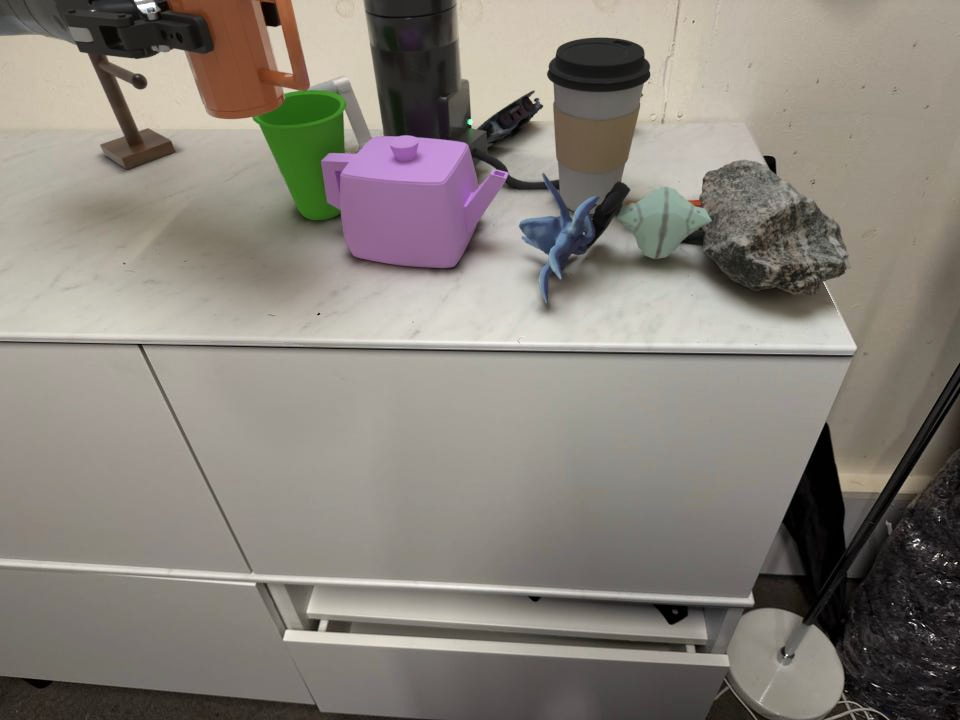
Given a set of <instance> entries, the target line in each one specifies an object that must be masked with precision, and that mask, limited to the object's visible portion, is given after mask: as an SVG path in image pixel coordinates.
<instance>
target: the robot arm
mask: <svg viewBox="0 0 960 720" xmlns="http://www.w3.org/2000/svg"><path fill="white" fill-rule="evenodd" d="M261 4H262V8H263V11H264V15H265V19H266V23H267V27H271V28H277V27H280V26H281V22H280V18H279V14H278V10H277V6H276V3H270V2H262V1H261ZM363 8H364V13H365V14H364V15H365V21H366V27H367V33H368V40H369V46H370V47H369V49H370V52H371V54H370V55H371V61H372V68H373V73H374V79H375V86H376V94H377V100H378V106H379V113H380V119H381V124H382V125H381V126H382V136H397V137H398V136H404V135H408V136H414V137H418V138H431V139H441V140H450V141H458V142H463V143H466V144H467V145H468V146H469V149H470V152H471V156H472V160H473V164H474V167H476V165H478V164H479V163H480V162H481V161H482V162H483V163H486V164H488V165H490V166H491V167H493V169H497V170H501V171H504V172H508V173H509V174H508V177H507V179H506V181H505V183H504V184H506V185H508V186H509V187H511V188H513V189H515V190H516V189H517V190H523V191H531V190H532V191H535V190H537V191H538V190H549V189H548V188H547V186H546V184H545V182H544V181H537V182H536V181H535V182H533V181H532V182H531V181H523V180H520V179H517V178H515V177H513V176H511V175H510V172H509V169H508V168H507V166H506V165H505V164H504V163H503V162H502V161H501V160H500V159H499V158H497V157H496V156H493V155H491V154H489V153H488V147H487V132H486V131H483V130H477V128H472V124H473V120H472V109H471V91H470V90H471V88H470V81H469V80H468V79H467V78H463V77H462V61H461V60H462V59H461V46H460V43H461V42H460V29H459V28H460V27H459V26H460V25H459V13H458V12H459V10H458V0H363ZM26 35H27V36H32V35H33V36H43V37H45V38H48V39H49V38H50V39H54V40H59V41H65V42H67V43H70V44H72V45H75V46H76V47H77V49H78V51H79V53H83V54H87V53H90V54H99V55H106V56H107V57H117V58H124V59H135V60H141V59H149V58H152V57H154V56H156V55H159V54H160V53H169V52H170V51H172V50H179V51H184V52H185V51H190V52H195V53H200V54H206V53H208V52H211V51H213V50H214V44H213V40H212V37H211V34H210V31H209V28H208V24H207V22H206V20H205V19H204V18H203V17H202V16H201V15H195V14H189V13H181V12H175V11H170V8H169V5H168V2H167V0H0V37H11V36H26ZM549 181H550V182H551V183H552V184H553V186H554V187H555V188H556V189H557V190H560V186H559V179H554V180H549ZM622 206H624V204H623V203H622V204H621V205H620V207H619V209H618V210H617V212H616V214H617V215H618V214H619V212H620V210H621V208H622ZM704 236H705V232H704V231H703V230H699V229H697V230H696V231H694V232H692V233H691V234H690V235H689V236H687V237H686V238H685V239H684V240H683V241H693V242H703V237H704Z"/></svg>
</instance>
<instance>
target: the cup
mask: <svg viewBox="0 0 960 720" xmlns="http://www.w3.org/2000/svg"><path fill="white" fill-rule="evenodd" d="M284 95H285V101H284V103H283V104H282V105H281V106H279V107H278V108H276V109H275V110H273V111H270V112H268V113H265V114H262V115H258V116H254V117H251V119H252V120H253V122H255V123H256V124H257V125H258V126H259V129H260V130H261V132H262V134H263V136H264V139H265V141H266V143H267V145H268V147H269V149H270V152H271V153H272V156H273V158H274V160H275V163H276V165H277V167H278V169H279V172H280V174H281V176H282V178H283V180H284V182H285V184H286V186H287V189H288V191H289V194H290V196H291V198H292V200H293V202H294V204H295V206H296V208H297V210H298V212H299V214H301V216H302V217H304V218H305V219H307V220H311V221H324V220H325V221H326V220H329V219H333V218H335V217H337V216H339V215H341V210H339V209H338V208H336V207H334V206H332V205H331V204H329V203H327V198H326V192H325V185H324V178H323V172H322V165H321V161H322V160H323V159H324V158H325V157H326V156H327V155H328V154H329V153H346V145H345V143H346V142H345V121H344V120H345V119H344V111H345V108H346V102H345V100H344V99H343V97H342V96H340V95H338V94H336V93H333V92H329V91H323V90H307V91H299V90H296V91H290V92H284Z"/></svg>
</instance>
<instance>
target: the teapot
mask: <svg viewBox="0 0 960 720" xmlns="http://www.w3.org/2000/svg"><path fill="white" fill-rule="evenodd" d="M356 153H357V154H356ZM356 153H349V152H348V153H346V152H345V153H329V154H328V155H327V156H326V157H325V158H324V159H323V160H322V161H321V165H322V172H323V178H324V185H325V192H326V198H327V203H329V204H331V205H332V206H334V207H336V208H338V209H339V210H341V214H340V218H341V225H342V231H343V238H344V241H345V243H346V246H347V247H348V250H349V252H350V253H351V255H352V256H353V257H355V258H358V259H360V260H361V259H362V260H366V261H372V262H377V263H383V264H388V265H394V266H395V265H396V266H404V267H415V268H429V269H430V268H431V269H449V268H454V267H456V266H457V264H458V263H459V262H460V260H461V258H462V256H463V255H464V253H465V252H466V250H467V248H468V245H469V244H470V241H471V239H472V238H473V235H474V233H475V231H476V228H477V226H478V223H479V221H480V219H482V217H483V215H484V214H485V212H486V211H487V210H488V208H489V207H490V205H491V204H492V202H493V200H494V199H495V198H496V197H497V194H498V193H499V192H500V190H501V189H502V187H503V186H504V184H506V183H505V181H506V179H507V177H508V174H510V172H509V171H508V172H509V173H508V172H504V171H501V170H497V169H495V168H492V170H491V172H490V173H489V175H487V177H486V178H485V179H484V180H483V181H482V182H481V184H480V185H479V183H478V177H477V173H476V169H475V168H476V167H475V166H474V164H473V160H472V156H471V152H470V149H469V146H468V145H467V144H466V143H463V142H458V141H450V140H441V139H431V138H418V137H414V136H408V135H404V136H398V137H397V136H384V135H381V136H380V135H379V136H373V137H372V139H371V140H370V141H369V142H368V143H367V144H366V145H365V146H364V147H363V148H362V149H361V150H360V151H359V150H358V151H357V152H356Z"/></svg>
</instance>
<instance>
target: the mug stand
mask: <svg viewBox="0 0 960 720" xmlns="http://www.w3.org/2000/svg"><path fill="white" fill-rule="evenodd" d="M86 54H87V56H88V58H89V60H90V62H91V65H92V67H93V70H94V71H95V73H96V76H97V78H98V80H99V82H100V85H101V87H102V90H103V91H104V94H105V96H106V98H107V100H108V103H109V105H110V107H111V109H112V111H113V114H114V116H115V119H116V121H117V123H118V125H119V128H120V130H121V133H122V134H123V136H121V137H118V138H115V139H112V140H109V141H106V142H103V143H100V144H99V147H100V148H101V150H102V152H103V155H104V156H105V157H107V158H108V159H109V160H111V161H113V162H115V164H117V165H119V166H120V167H122V168H124V169H125V170H129V169H133V168H134V167H138V166H140V165H143V164H146V163H148V162H152V161H154V160H157V159H159V158H162V157H165V156H167V155H170V154H173V153H175V152H176V149H175V146H174V144H173V142H172V140H171V139H169V138H167V137H166V136H164V135H162V134H160V133H158V132H157V131H154V130H152V129H151V128H149V127H146V128H144V129H141V130H139V128H138V126H137V123H136V122H135V118H134V117H133V114H132V112H131V110H130V108H129V105H128V103H127V100H126V98H125V96H124V93H123V91H122V88H121V86H120V84H119V82H118V80H117V78H118V79H120V80H122V81H123V82H126V83H129V84H130V85H132V87H133V88H135V89H137V90H139V91H140V90H145V89H146V88H147V87H148V79H147V78H146V76H145V75H144V74H141V73H136V72H135V73H134V72H132V71H131V70H129V69H126V68H124V67H121V66H119V65H117V64H115V63H113V62H111V61H109V58H108V56H107V55H99V54H90V53H86Z"/></svg>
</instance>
